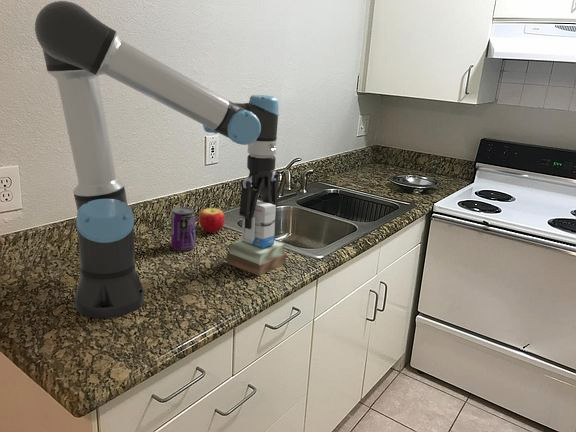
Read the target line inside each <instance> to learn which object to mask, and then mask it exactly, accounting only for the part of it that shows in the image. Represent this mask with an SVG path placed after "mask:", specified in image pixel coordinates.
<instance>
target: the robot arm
mask: <svg viewBox="0 0 576 432" xmlns="http://www.w3.org/2000/svg"><path fill="white" fill-rule="evenodd" d="M34 21H35V22H34V32H35V37H36V39H37V42H38V43H39V45H40V47H41V48H42V53H43V57H44V62H45V67H46V71H47V73H48V74H49V75H50V76H52V77H53V78H54V79H55V80H56V82H57V87H58V92H59V96H60V100H61V106H62V110H63V115H64V120H65V125H66V130H67V135H68V140H69V145H70V148H71V153H72V158H73V163H74V167H75V168H74V169H75V173H76V178H77V181H78V183H77V185H76V186H75V188H74V189H73V194H74V202H75V205H76V210H77V211H76V218H75V225H76V229H77V237H78V239H77V241H78V251H79V252H78V253H79V265H80V277H79V280H78V284H77V288H76V291H75V293H74V307H75V310H76V311H77V312H78V313H79V314H80V315H83V316H85V317H88V318H91V319H93V318H94V319H111V318H119V317H122V316H125V315H129V314H131V313H133V312H135V311H136V310H138V309H140V308H141V306H143V305H144V302H145V290H144V287H143V284H142V282H141V279H140V276H139V275H138V273H137V270H136V257H135V232H134V231H135V229H134V228H135V227H134V226H135V215H134V213H133V209H132V207H131V206H130V205H129V204H128V200H127V193H126V188H125V183H124V182H123V181H121V180H120V179H119V178H117V174H116V168H115V163H114V158H113V152H112V147H111V140H110V136H109V130H108V129H109V128H108V125H107V119H106V114H105V113H106V112H105V107H104V102H103V97H102V92H101V91H102V90H101V86H100V81H99V76H102V75H106V76H107V77H110V78H111V79H114V80H115V81H118V82H119V83H121V84H123V85H125V86H127V87H129V88H131V89H133V90H134V91H137V92H139V93H141V94H143V95H145V96H146V97H149V98H150V99H152V100H155V101H156V102H159V103H160V104H162V105H164V106H166V107H168V108H170V109H172V110H174V111H176V112H178V113H180V114H182V115H184V116H186V117H187V118H189V119H191V120H193V121H195V122H197V123H199V124H201V125H202V127H203V130H204V131H205V132H206V133H209V134H210V133H212V134H219V135H222V136H224V137H226V138H228V139H230V140H231V141H232V142H233V143H234V144H235V143H236V144H237V145H241V146H246V145H247V153H248V155H247V159H246V160H247V162H246V163H247V164H246V168H247V169H248V170H249V174H248V176H247V179H241V181H240V187H241V190H240V191H241V192H240V203H239V213H238V215H239V216H241V217H243V216H244V217H245V238H247V239H249V240H252V241H253V240H254V235H255V217H253V215H254V211H255V207H256V203H257V200H259V199H258V198H259V196H260V194H261V196H262V198H261V199H262V201H263V202H266V203H270V204H273V205H276V209H277V208H278V204H279V203H278V197H279V195H278V194H279V193H278V192H279V191H278V190H279V189H278V187H279V185H278V183H279V179H280V175H279V174H278V173H274V172H273V171H275V169H276V159H277V157H276V156H275V155H276V154H277V138H278V136H277V135H278V123H279V100H278V98H277V97H276V96H273V95H266V94H263V95H262V94H254V95H250V97H249V101H248V102H243V103H239V102H232V101H230V100H229V99H227V98H225V97H224V96H222V95H220V94H218V93H216V91H215V92H214V91H213V90H211V89H210V88H207V87H206V86H204V85H202V84H200V83H199V82H197V81H195V80H193V79H192V78H189V77H188V76H186V75H184V74H183V73H181V72H179V71H177V70H175V69H173V68H171V67H170V66H168V65H166V63H165V64H164V63H163V62H161V61H159V60H157V59H155V58H154V57H152V56H151V55H149V54H147V53H145V52H143V51H141V50H140V49H138V48H136V47H135V46H133V45H131V44H130V43H127V42H126V41H124V40H122V39H121V37H120V36H119V33H118V31H116V30H114V29H113V28H111V27H109V26H108V25H106V24H105V23H103V22H102V21H101V20H99V19H98V18H96V17H95V16H93V15H92V14H91V13H90V12H89V11H87V10H86V9H85V8H84V7H82V6H81V5H79V4H77V3H75V2H71V1H67V0H56V1H53V2H50V3H48V4H46V5H45V6H43V8H41V9H40V11H39V12H38V14H37V16H36V19H35V20H34ZM249 212H250V213H249Z"/></svg>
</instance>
